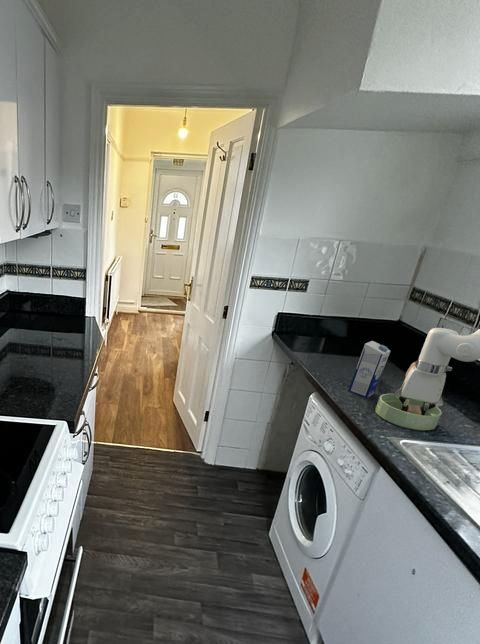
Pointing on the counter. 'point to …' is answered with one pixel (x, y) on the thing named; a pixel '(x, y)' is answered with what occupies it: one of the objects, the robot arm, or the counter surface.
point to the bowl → (406, 413)
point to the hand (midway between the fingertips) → (410, 417)
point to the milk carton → (369, 369)
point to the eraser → (414, 409)
